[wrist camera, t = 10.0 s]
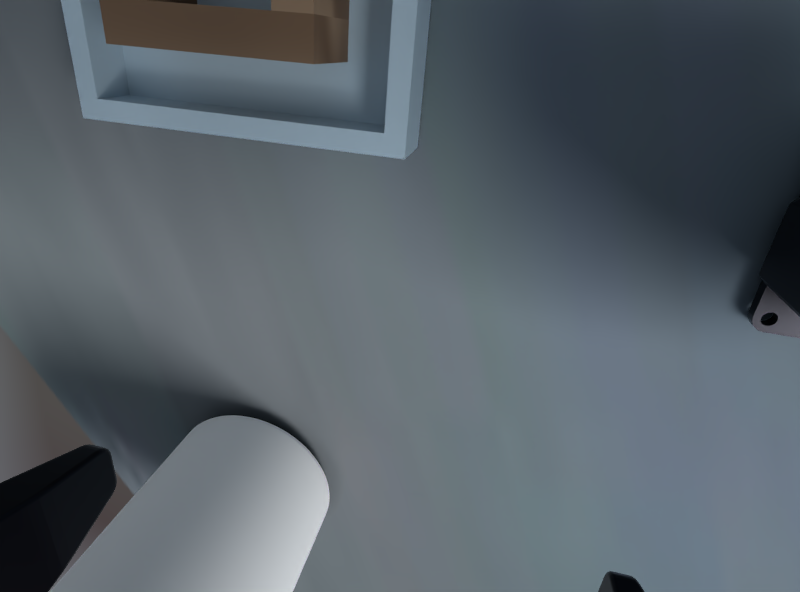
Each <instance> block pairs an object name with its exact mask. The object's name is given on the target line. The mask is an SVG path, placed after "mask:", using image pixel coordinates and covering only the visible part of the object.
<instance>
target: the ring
mask: <svg viewBox="0 0 800 592" xmlns="http://www.w3.org/2000/svg"><path fill="white" fill-rule="evenodd" d="M349 2H350V0H271V10H260V9H247V8H235V7H223V6H211V5H199V4H197V0H99V3H100V9H101V15H102V21H103V27H104V33H105V40H106V44H113V45H123V46H134V47H144V48H154V49H164V50H174V51H184V52H194V53H204V54H215V55H225V56H235V57H245V58H255V59H265V60H275V61H285V62H296V63H306V64H327V63H342V62H348V36H349Z"/></svg>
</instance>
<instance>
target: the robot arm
mask: <svg viewBox="0 0 800 592" xmlns="http://www.w3.org/2000/svg"><path fill="white" fill-rule="evenodd" d="M759 275H760V277H761V279H762V282H761V284H760V286H759V289H758V291H757V293H756V295H755V298H754V300H753V302H752V305H751V307H750V309H749V311H748V319H749V321H750V323H751V324H752V325H753V326H754V327H755V328H756V329H757V330H759V331H762V332H766V333H772V334H778V335H784V336H790V337H797V338H800V196H799V198H798V199H796V200H795V201H793V202H792V203H790V205H789V207H788V209H787V211H786V213H785V216H784V218H783V220H782V223H781V225H780V227H779V229H778V232H777V234H776V236H775V239H774V241H773V243H772V245H771V248H770V250H769V252H768V255H767V257H766V259H765V261H764V264H763V266H762V268H761V271H760V273H759ZM771 312H773V315H772V316H771V318H769V319H767V320H761V317H762V316H763V315H764V314H766V313H771ZM116 483H117V479H116V474H115V470H114V465H113V461H112V457H111V453H110V451H109V450H108V449H106V448H103V447H99V446H95V445H84V446H81V447H79V448H77V449H74V450H72V451H70V452H68V453H66V454H63V455H61V456H59V457H57V458H55V459H52V460H50V461H48V462H46V463H44V464H41V465H39V466H37V467H35V468H32V469H30V470H28V471H26V472H24V473H21V474H19V475H17V476H15V477H13V478H10V479H8V480H6V481H4V482H2V483H0V592H48V591H49V590H50V589H51V587H52V586H53V585H54V583H55V582H56V581H57V579H58V578H59V576H60V575H61V574H62V572H63V571H64V569H65V568H66V566H67V565H68V563H69V562H70V560H71V559H72V557H73V556H74V554H75V553H76V551H77V550H78V548H79V546H80V545H81V543H82V542H83V540H84V539H85V537H86V535H87V534H88V532H89V531H90V529H91V527H92V526H93V524H94V522H95V521H96V520H97V518H98V516H99V515H100V513H101V512H102V510H103V508H104V507H105V505H106V503H107V502H108V501H109V499H110V497H111V496H112V494H113V492H114V490H115V487H116ZM598 592H644V590H643V589H642V587H641V586H640V584H639V583H638V581H637V580H636V579H635V578H633V577H632V576H629V575H625V574H621V573H617V572H613V571H609V572H607V573H606V575H605V576H604V579H603V581H602V584H601V586H600V588H599V591H598Z"/></svg>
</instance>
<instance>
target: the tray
mask: <svg viewBox="0 0 800 592" xmlns="http://www.w3.org/2000/svg"><path fill="white" fill-rule="evenodd" d="M61 4H62V9H63V14H64V20H65V25H66V30H67V35H68V41H69V46H70V51H71V56H72V61H73V67H74V72H75V77H76V82H77V88H78V93H79V98H80V103H81V109H82V114H83V118H86V119H94V120H101V121H109V122H117V123H125V124H133V125H140V126H148V127H156V128H164V129H172V130H179V131H187V132H195V133H203V134H211V135H219V136H226V137H234V138H242V139H250V140H258V141H265V142H273V143H281V144H289V145H297V146H304V147H312V148H320V149H328V150H336V151H343V152H351V153H359V154H367V155H375V156H382V157H390V158H398V159H406V158H407V157H408V156H409V155H410V154H411V153H412V152H413V151H414V150H415V149H417V148H418V139H419V128H420V117H421V107H422V96H423V85H424V75H425V64H426V53H427V43H428V32H429V22H430V11H431V0H350V2H349V36H348V62H342V63H327V64H306V63H296V62H285V61H275V60H265V59H255V58H245V57H235V56H225V55H215V54H204V53H194V52H184V51H174V50H164V49H154V48H144V47H134V46H123V45H113V44H106V40H105V33H104V27H103V21H102V15H101V9H100V3H99V0H61ZM197 4H199V5H211V6H223V7H235V8H247V9H260V10H271V0H197Z"/></svg>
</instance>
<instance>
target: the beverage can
mask: <svg viewBox="0 0 800 592" xmlns="http://www.w3.org/2000/svg"><path fill="white" fill-rule="evenodd" d="M329 500H330V494H329V486H328V482H327V479H326V476H325V474H324V472H323V470H322V468H321V466H320V464H319V463H318V461H317V460H316V458H315V457H314V456H313V455H312V453H311V452H310V451H309V450H308V449H307V448H306V447H305V446H304V445H303V444H302V443H301V442H300V441H298V440H297V439H296V438H295V437H293V436H292V435H290V434H289V433H287V432H286V431H284V430H282V429H281V428H279V427H277V426H275V425H273V424H270V423H268V422H265V421H262V420H259V419H256V418H252V417H246V416H238V415H226V416H219V417H214V418H211V419H208V420H206V421H204V422H202V423H200V424H198V425H197V426H196V427H194V428H193V429H192V430H191V431H190V432H189V434H188V435H187V436H186V437H185V438H184V439H183V440H182V442H181V443H180V444H179V445H178V446H177V447H176V448H175V450H174V451H173V452H172V453H171V454H170V455H169V456H168V458H167V459H166V460H165V461H164V462H163V463H162V464H161V466H160V467H159V468H158V469H157V470H156V471H155V472H154V473H153V475H152V476H151V477H150V478H149V479H148V480H147V481H146V483H145V484H144V485H143V486H142V487H141V488H140V489H139V491H138V492H137V493H136V494H135V495H134V496H133V497H132V499H131V500H130V501H129V502H128V503H127V504H126V505H125V507H124V508H123V509H122V510H121V511H120V512H119V514H118V515H117V516H116V517H115V518H114V519H113V520H112V522H111V523H110V524H109V525H108V526H107V527H106V528H105V530H104V531H103V532H102V533H101V534H100V535H99V536H98V537H97V539H96V540H95V541H94V542H93V543H92V544H91V545H90V547H89V548H88V549H87V550H86V551H85V552H84V553H83V555H82V556H81V557H80V558H79V559H78V560H77V561H76V563H75V564H74V565H73V566H72V567H71V568H70V569H69V570H68V572H67V573H66V574H65V575H64V576H63V577H62V578H61V580H60V581H59V582H58V583H57V584H56V585H55V586H54V588H53V589H52V590H51V591H50V592H293V590H294V588H295V585H296V583H297V581H298V578H299V576H300V574H301V571H302V569H303V567H304V564H305V562H306V560H307V557H308V555H309V553H310V550H311V548H312V545H313V543H314V541H315V538H316V536H317V534H318V531H319V529H320V527H321V524H322V522H323V520H324V517H325V515H326V512H327V510H328V506H329Z"/></svg>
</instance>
